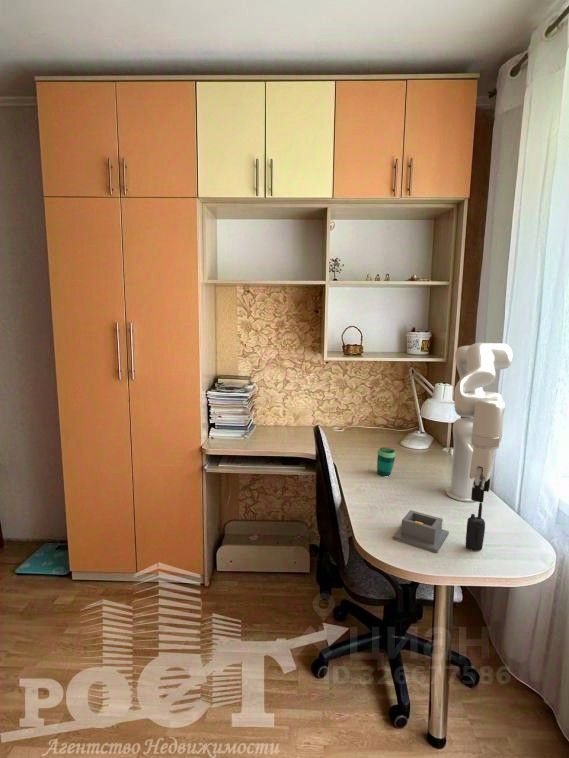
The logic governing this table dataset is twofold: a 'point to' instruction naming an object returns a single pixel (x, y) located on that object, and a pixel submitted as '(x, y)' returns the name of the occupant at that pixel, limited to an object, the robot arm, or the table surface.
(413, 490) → the table surface
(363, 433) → the table surface
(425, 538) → the charging dock
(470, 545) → the two-way radio
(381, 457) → the cup
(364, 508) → the table surface
